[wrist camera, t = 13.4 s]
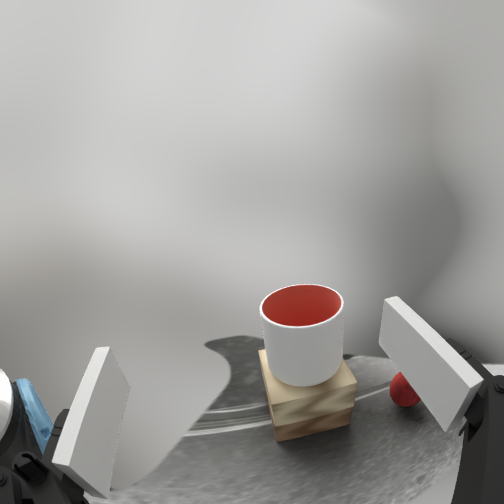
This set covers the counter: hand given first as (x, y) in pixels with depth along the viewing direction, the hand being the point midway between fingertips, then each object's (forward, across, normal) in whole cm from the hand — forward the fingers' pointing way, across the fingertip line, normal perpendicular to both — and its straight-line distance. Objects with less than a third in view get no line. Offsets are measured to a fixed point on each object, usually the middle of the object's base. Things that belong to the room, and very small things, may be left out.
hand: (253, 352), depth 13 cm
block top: (+18, +7, -24) cm, 31 cm away
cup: (+18, +7, -20) cm, 28 cm away
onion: (+12, +22, -29) cm, 38 cm away
